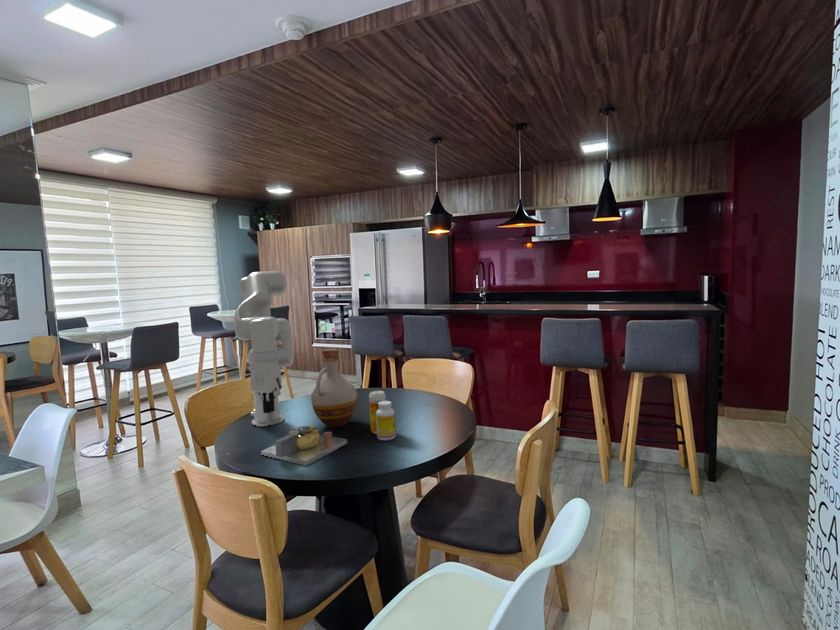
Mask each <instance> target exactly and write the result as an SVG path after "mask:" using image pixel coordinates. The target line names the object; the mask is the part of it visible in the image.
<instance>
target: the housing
mask: <svg viewBox="0 0 840 630" xmlns="http://www.w3.org/2000/svg"><path fill="white" fill-rule="evenodd" d="M319 436H320V443H319V444H318V445H317V446H315V447H313V448H309V449H303V450H295V451H293V452H291V453H289V454H287V455H285V456H283V457H278V456H276V444H274V445H272V446H270V447H267V448H265V449H263V450H261V451H260V453H261V455H264V456H263V457H265V456H268V457H267V458H270V457H272V458H271V459H274V458H277V459H276V460H278V459H280V461H283V460H284V461H283V462H287V461H288V462H287V463H291V462H292V463H293V464H297V465H301V466H304V467H305V466H306V467H307V466H308V465H310V464H312V463H314V462H316V461H317V460H319V459H321V458H323V457H325V456H327V455H329V454H330V453H332V452H334V451H336V450H337V449H339V448H341V447H343V446H344V445H347V444H348V438H342V437H336V436H333V431H325V432H323V434H320V433H319Z"/></svg>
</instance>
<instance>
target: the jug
mask: <svg viewBox="0 0 840 630" xmlns="http://www.w3.org/2000/svg"><path fill="white" fill-rule="evenodd" d="M339 352H340V349H337V348H336V349H335V348H334V349H322V350H321V353H322V356H323V357H322V361H323V362H324V366H325V367H323V368H322V369H321V370H320V371H319V372H318V375H317V378H316V382H315V383H316V384H315V388H314V389H313V391H312V392H311V398H310V401H311V405H312V408H313V411H314V414H315V415H316V418H317V419H319V421H321V423H323V424H324V426H325V427H327V428H331V429H333V428H334V429H335V428H341V427H344V426H346V425H347V424H348V423H349V421H350V420H351V419H352V417H353V415H354V414H355V412H356V408H357V405H358V404H357V402H358V392H357V389H356V388H355V386H354V385H353V383H351V382H350V381H349V380H348V379H347V378H345V377H344V376H342V374H340V372H339V360H340V355H339ZM325 372H326V373H325ZM324 374H325V375H324ZM323 375H324V377H323ZM322 377H323V378H322Z"/></svg>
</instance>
